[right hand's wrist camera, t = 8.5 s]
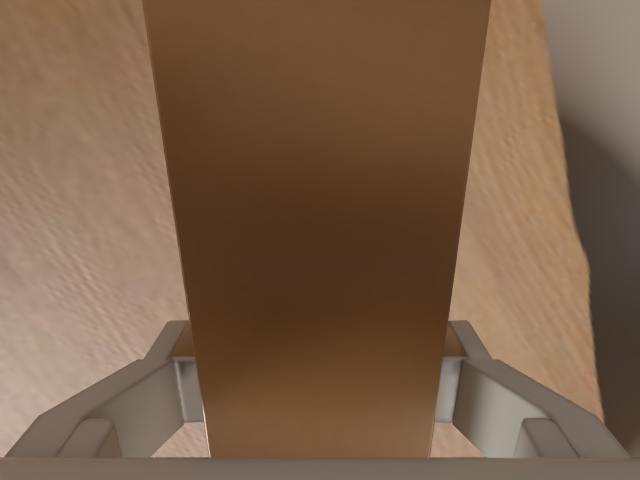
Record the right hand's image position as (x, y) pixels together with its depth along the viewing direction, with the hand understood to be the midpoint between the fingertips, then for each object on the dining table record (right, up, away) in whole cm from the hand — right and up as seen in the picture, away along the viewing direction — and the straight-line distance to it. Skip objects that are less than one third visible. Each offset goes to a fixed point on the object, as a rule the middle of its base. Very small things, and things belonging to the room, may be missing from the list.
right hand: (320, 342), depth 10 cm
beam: (0, -24, +13) cm, 28 cm away
